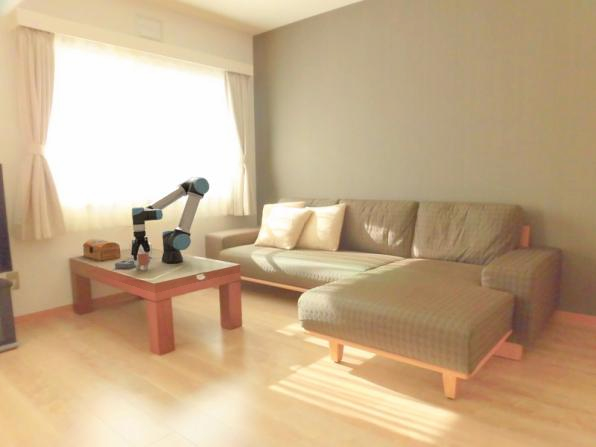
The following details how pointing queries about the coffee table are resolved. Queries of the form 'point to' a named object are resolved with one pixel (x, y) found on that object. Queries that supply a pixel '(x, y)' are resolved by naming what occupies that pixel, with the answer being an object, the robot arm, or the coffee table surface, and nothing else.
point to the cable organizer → (142, 250)
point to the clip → (142, 261)
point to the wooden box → (101, 249)
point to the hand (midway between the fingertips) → (141, 263)
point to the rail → (126, 264)
